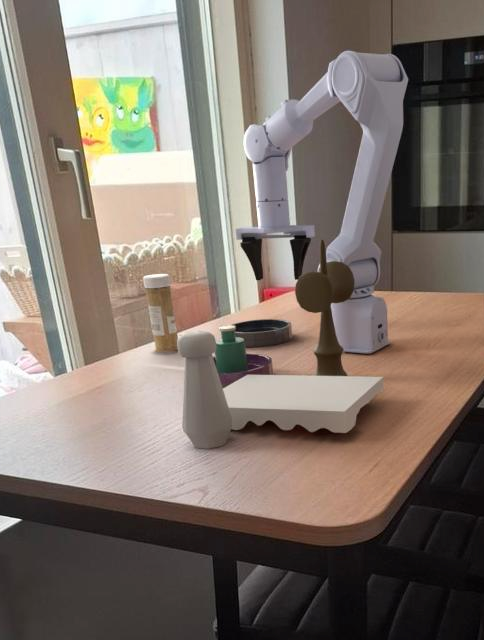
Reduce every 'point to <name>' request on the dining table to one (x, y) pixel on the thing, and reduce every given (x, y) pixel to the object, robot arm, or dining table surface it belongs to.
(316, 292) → the kendama
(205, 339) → the salt shaker
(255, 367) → the bowl plum
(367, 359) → the dining table surface
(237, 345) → the bottle
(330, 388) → the scalloped display plinth
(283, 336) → the bowl charcoal
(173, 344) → the sprinkles bottle
